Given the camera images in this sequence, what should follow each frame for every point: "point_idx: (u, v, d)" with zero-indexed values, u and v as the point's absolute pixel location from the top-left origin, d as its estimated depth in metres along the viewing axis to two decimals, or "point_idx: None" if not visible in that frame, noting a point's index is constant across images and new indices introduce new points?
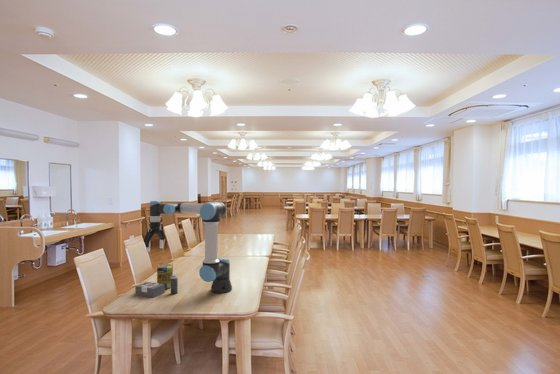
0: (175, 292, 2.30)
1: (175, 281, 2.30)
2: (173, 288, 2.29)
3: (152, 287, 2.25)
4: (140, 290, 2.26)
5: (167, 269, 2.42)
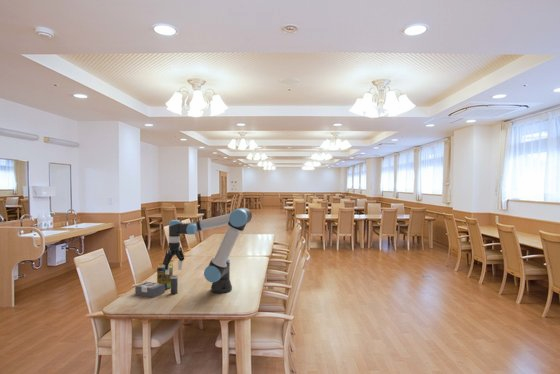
0: (175, 292, 2.30)
1: (175, 281, 2.30)
2: (173, 288, 2.29)
3: (152, 287, 2.25)
4: (140, 290, 2.26)
5: None
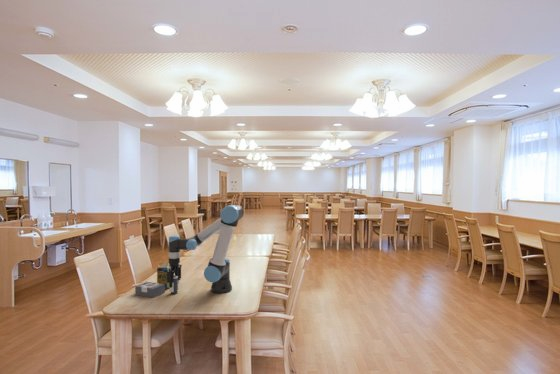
0: (175, 292, 2.30)
1: (175, 281, 2.30)
2: None
3: (152, 287, 2.25)
4: (140, 290, 2.26)
5: None
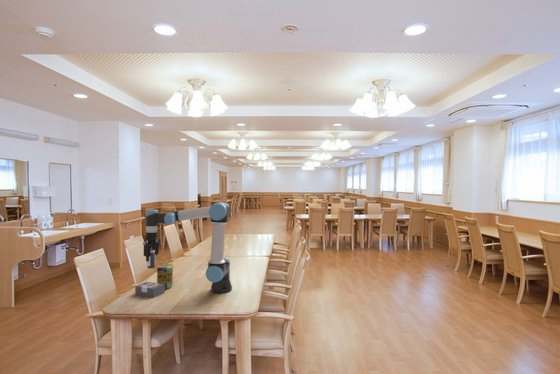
0: (152, 266, 2.29)
1: (152, 255, 2.29)
2: (150, 262, 2.28)
3: (152, 287, 2.25)
4: (140, 290, 2.26)
5: (167, 269, 2.42)
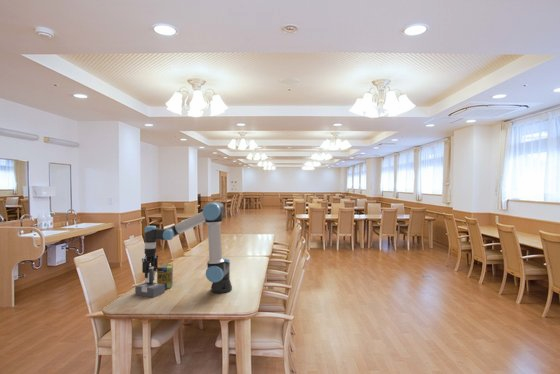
0: (151, 282, 2.28)
1: (151, 271, 2.28)
2: None
3: (152, 287, 2.25)
4: (140, 290, 2.26)
5: (167, 269, 2.42)
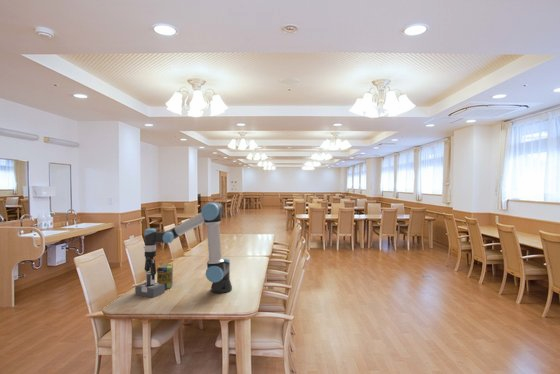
0: None
1: None
2: None
3: (152, 287, 2.25)
4: (140, 290, 2.26)
5: (167, 269, 2.42)
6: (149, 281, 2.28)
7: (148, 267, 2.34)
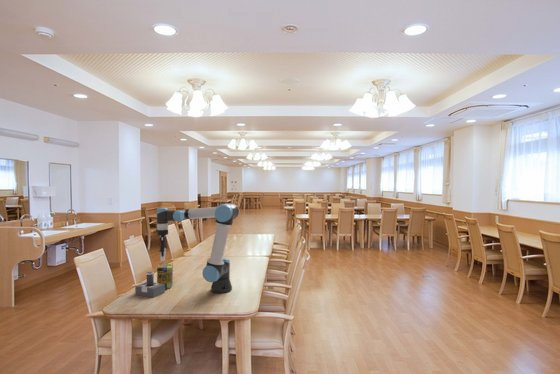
0: None
1: (153, 276, 2.31)
2: (152, 284, 2.29)
3: (152, 287, 2.25)
4: (140, 290, 2.26)
5: (167, 269, 2.42)
6: (149, 281, 2.28)
7: (163, 244, 2.40)
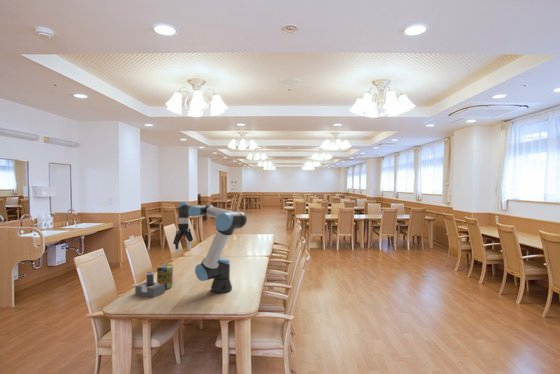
0: None
1: (153, 276, 2.31)
2: (152, 284, 2.29)
3: (152, 287, 2.25)
4: (140, 290, 2.26)
5: (167, 269, 2.42)
6: (149, 281, 2.28)
7: (187, 238, 2.50)
